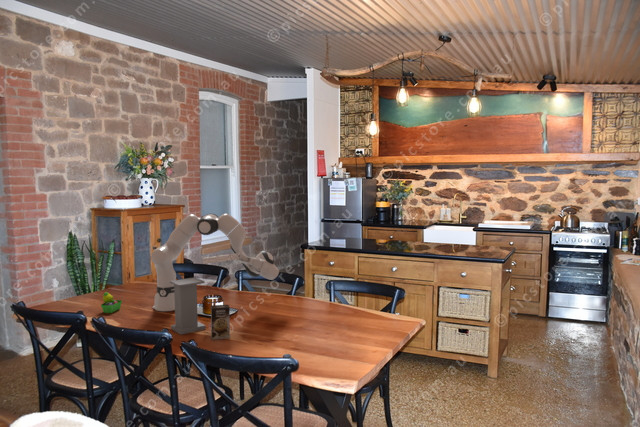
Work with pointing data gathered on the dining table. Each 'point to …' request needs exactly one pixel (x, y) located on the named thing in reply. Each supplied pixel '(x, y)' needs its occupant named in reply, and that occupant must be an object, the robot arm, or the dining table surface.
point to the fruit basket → (110, 303)
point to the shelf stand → (186, 306)
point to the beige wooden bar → (222, 258)
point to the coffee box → (220, 322)
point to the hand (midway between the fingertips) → (237, 255)
